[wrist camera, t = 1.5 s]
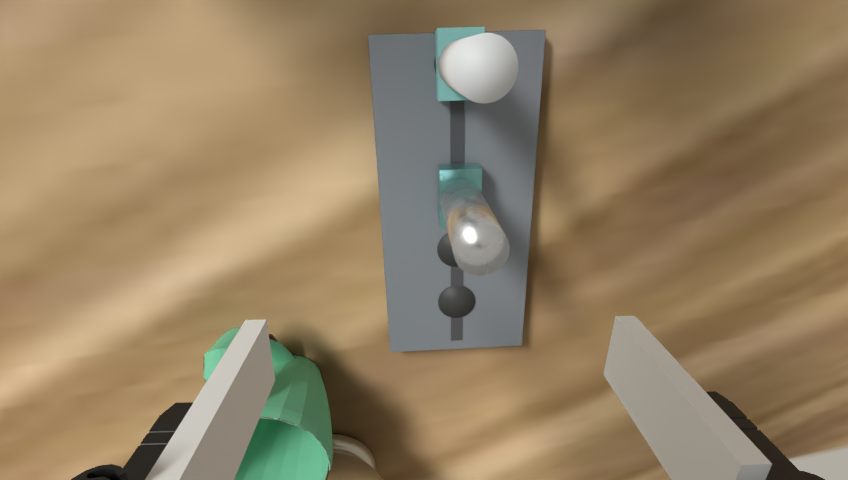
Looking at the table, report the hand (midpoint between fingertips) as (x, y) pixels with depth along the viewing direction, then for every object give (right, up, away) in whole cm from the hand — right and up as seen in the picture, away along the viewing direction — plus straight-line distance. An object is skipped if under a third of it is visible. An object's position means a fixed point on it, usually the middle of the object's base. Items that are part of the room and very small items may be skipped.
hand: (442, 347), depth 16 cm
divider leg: (+2, +8, +17) cm, 18 cm away
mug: (-14, -7, +24) cm, 29 cm away
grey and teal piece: (+2, +7, +19) cm, 20 cm away
